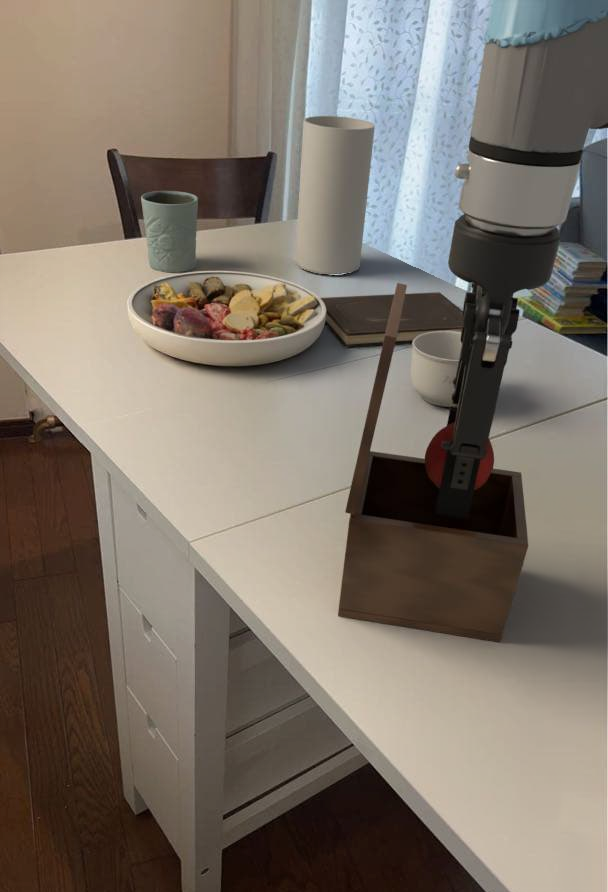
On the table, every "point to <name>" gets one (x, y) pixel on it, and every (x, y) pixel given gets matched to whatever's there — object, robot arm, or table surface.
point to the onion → (438, 456)
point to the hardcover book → (369, 315)
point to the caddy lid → (376, 397)
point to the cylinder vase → (333, 193)
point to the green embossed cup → (170, 229)
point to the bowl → (226, 317)
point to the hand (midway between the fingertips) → (452, 493)
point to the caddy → (433, 552)
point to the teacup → (436, 365)
